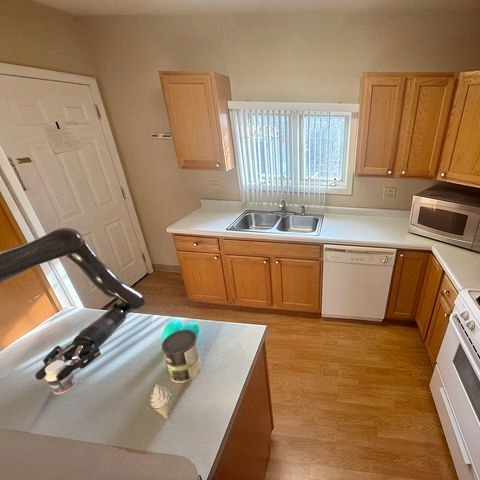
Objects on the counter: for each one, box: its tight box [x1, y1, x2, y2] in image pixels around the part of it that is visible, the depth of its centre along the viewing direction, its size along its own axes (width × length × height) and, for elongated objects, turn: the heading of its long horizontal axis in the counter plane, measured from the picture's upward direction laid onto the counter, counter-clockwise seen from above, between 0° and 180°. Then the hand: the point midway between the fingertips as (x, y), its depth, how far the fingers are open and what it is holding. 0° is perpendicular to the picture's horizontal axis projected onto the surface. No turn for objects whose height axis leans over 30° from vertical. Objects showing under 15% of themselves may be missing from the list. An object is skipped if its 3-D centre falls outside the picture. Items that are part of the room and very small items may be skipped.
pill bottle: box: [44, 360, 77, 395], centre depth 75 cm, size 5×5×9 cm
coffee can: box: [161, 330, 202, 384], centre depth 88 cm, size 10×10×14 cm
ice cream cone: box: [149, 383, 173, 419], centre depth 73 cm, size 5×5×15 cm
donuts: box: [161, 318, 200, 342], centre depth 100 cm, size 10×10×10 cm
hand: (48, 378), depth 72 cm, fingers closed on pill bottle, 5 cm apart
